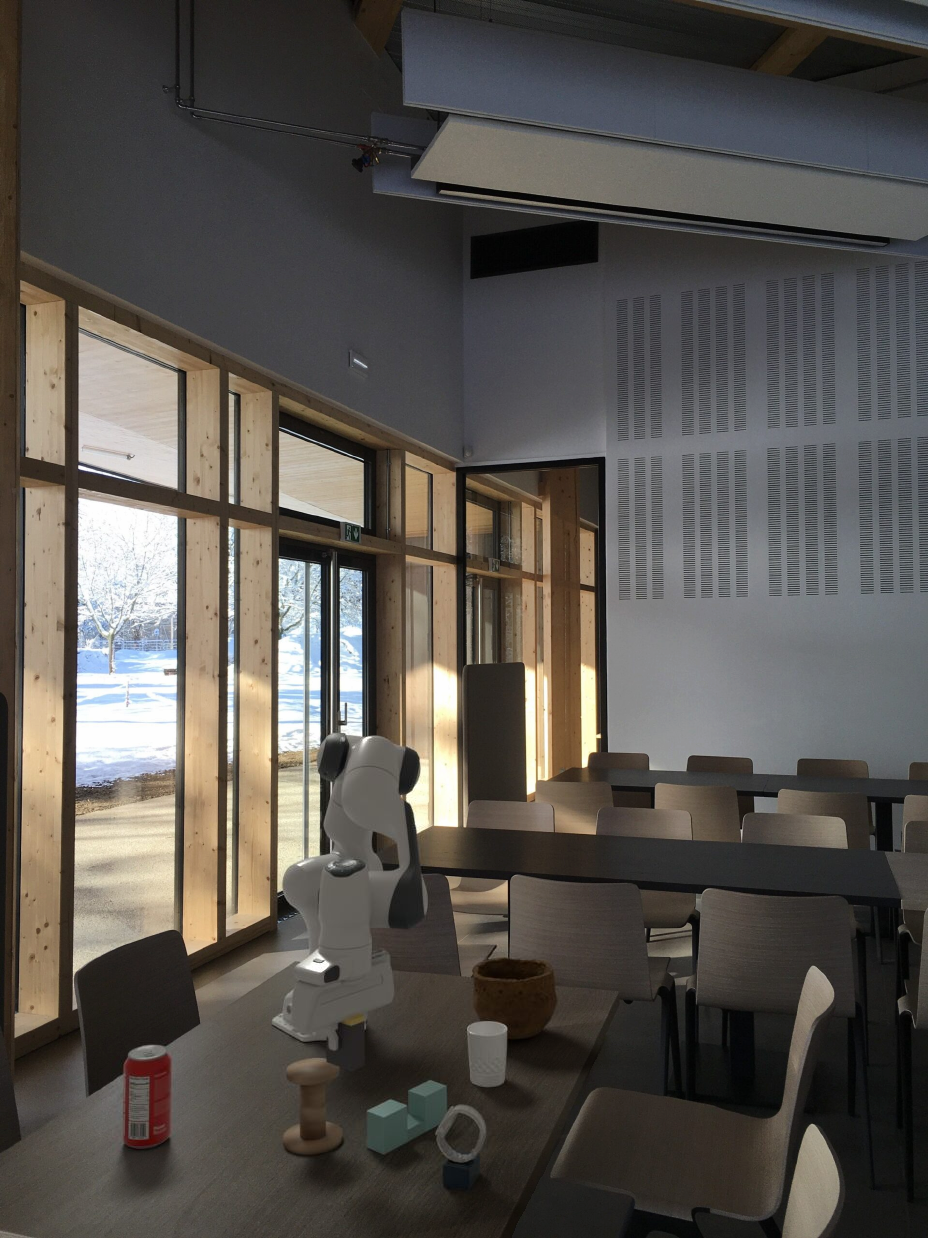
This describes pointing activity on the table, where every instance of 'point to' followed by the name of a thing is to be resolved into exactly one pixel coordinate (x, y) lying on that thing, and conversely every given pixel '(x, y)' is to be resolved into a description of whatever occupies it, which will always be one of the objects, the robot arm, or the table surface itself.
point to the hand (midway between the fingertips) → (345, 1045)
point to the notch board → (406, 1117)
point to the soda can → (147, 1097)
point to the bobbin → (312, 1108)
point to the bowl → (515, 994)
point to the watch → (460, 1151)
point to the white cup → (487, 1053)
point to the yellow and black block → (349, 1044)
